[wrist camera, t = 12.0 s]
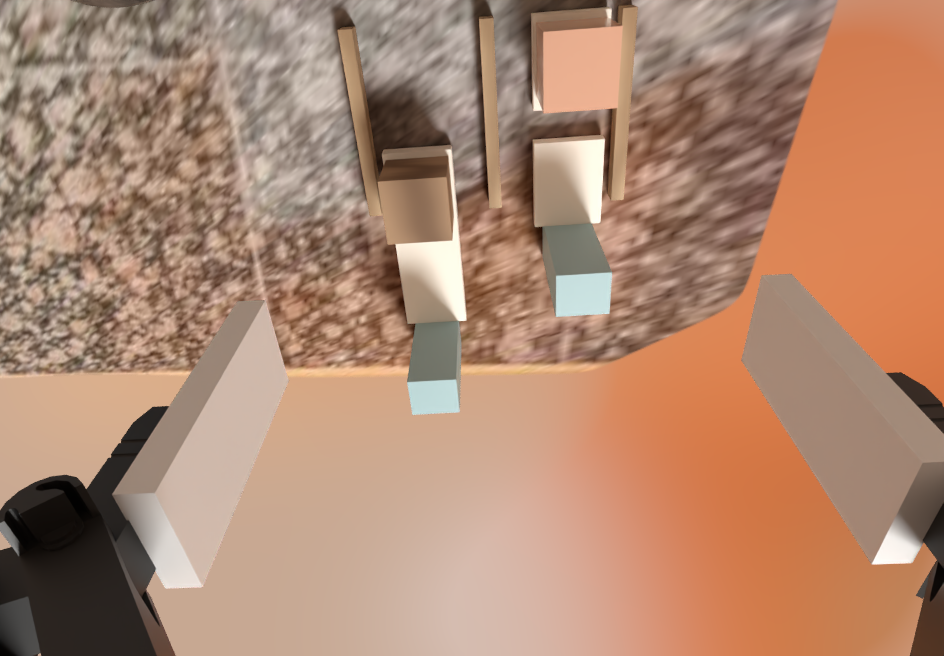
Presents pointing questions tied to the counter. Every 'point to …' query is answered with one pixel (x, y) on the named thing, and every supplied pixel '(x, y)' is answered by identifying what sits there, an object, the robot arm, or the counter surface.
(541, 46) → the block clay
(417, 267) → the multicoloured block
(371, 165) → the lane frame
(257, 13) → the counter surface
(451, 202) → the block walnut
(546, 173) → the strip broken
